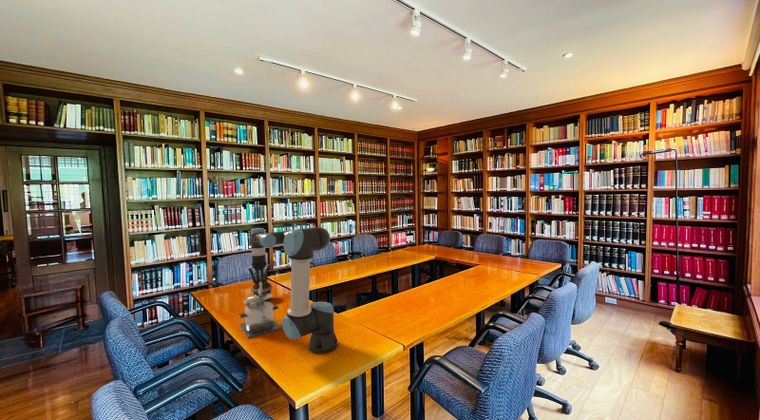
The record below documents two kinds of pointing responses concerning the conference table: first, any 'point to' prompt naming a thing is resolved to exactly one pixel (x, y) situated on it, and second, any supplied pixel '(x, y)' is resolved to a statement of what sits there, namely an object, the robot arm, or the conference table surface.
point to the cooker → (259, 319)
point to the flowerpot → (266, 288)
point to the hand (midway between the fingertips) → (260, 293)
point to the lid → (258, 298)
